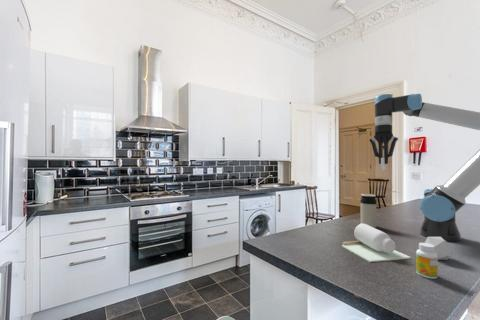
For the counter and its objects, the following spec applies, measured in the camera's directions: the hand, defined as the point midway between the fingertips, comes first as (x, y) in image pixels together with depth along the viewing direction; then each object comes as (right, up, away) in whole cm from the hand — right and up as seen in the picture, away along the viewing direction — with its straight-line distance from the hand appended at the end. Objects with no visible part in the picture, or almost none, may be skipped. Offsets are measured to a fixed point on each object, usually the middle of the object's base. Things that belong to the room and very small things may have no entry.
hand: (383, 170), depth 118 cm
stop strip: (-22, -32, -18) cm, 43 cm away
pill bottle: (-21, -27, -17) cm, 37 cm away
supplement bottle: (-14, -32, -45) cm, 57 cm away
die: (+1, -32, -32) cm, 45 cm away
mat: (-20, -32, -26) cm, 46 cm away
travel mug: (-1, -33, +12) cm, 35 cm away
